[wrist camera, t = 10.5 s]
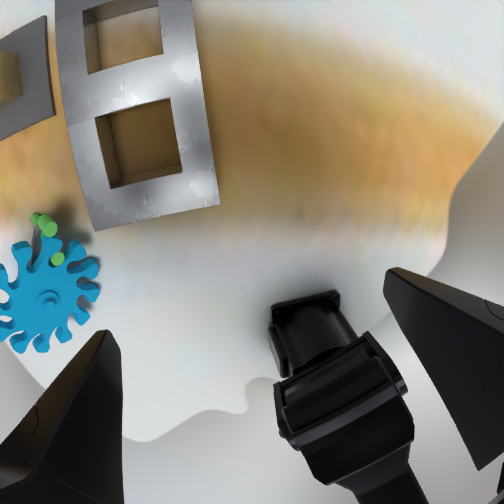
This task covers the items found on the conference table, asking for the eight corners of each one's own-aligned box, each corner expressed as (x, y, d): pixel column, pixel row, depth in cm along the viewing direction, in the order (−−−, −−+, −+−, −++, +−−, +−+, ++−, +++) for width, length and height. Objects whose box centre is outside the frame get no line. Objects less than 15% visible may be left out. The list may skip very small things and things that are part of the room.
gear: (93, 345, 22) (-7, 370, 13) (63, 306, 24) (-25, 319, 15) (122, 228, 20) (-10, 224, 11) (86, 199, 22) (-20, 189, 13)
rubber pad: (46, 16, 11) (44, 15, 11) (55, 114, 15) (53, 114, 15) (-32, 63, 10) (-34, 63, 10) (-21, 152, 14) (-24, 153, 14)
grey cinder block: (186, -26, 12) (186, -45, 10) (216, 190, 20) (220, 204, 17) (71, 5, 11) (54, -7, 9) (106, 214, 19) (95, 231, 16)
